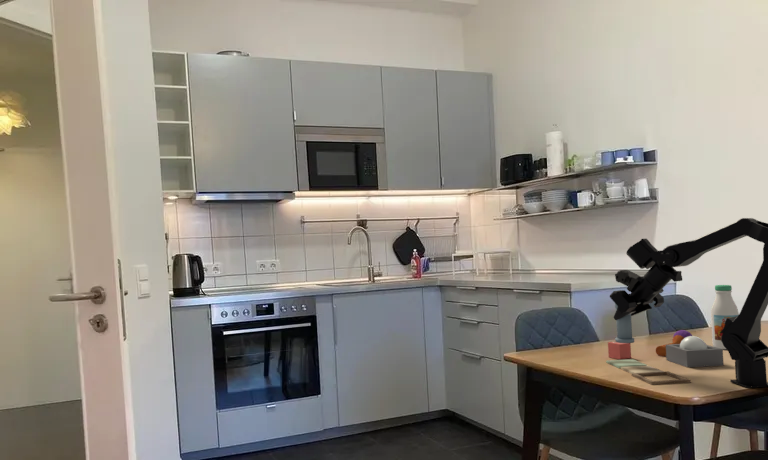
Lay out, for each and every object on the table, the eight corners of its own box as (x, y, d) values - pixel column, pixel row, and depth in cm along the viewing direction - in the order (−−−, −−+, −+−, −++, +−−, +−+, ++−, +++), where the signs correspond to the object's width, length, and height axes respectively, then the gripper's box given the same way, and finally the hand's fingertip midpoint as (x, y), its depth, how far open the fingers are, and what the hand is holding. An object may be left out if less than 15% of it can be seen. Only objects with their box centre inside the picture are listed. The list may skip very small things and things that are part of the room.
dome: (714, 362, 159) (712, 337, 160) (689, 363, 159) (688, 338, 159) (698, 357, 167) (697, 333, 167) (674, 358, 166) (673, 334, 166)
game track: (690, 382, 141) (690, 379, 141) (651, 384, 140) (651, 382, 140) (636, 361, 168) (636, 358, 168) (603, 362, 167) (602, 360, 167)
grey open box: (723, 365, 158) (722, 349, 158) (687, 367, 157) (686, 350, 157) (700, 358, 168) (699, 342, 168) (666, 360, 168) (665, 344, 168)
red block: (631, 357, 173) (630, 342, 173) (620, 359, 171) (619, 343, 171) (619, 355, 177) (618, 340, 177) (608, 357, 175) (607, 341, 175)
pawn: (634, 343, 160) (632, 298, 161) (615, 342, 162) (613, 298, 163) (634, 340, 165) (632, 297, 165) (615, 339, 167) (613, 297, 167)
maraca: (648, 342, 176) (675, 329, 190) (654, 361, 176) (680, 347, 189) (668, 340, 172) (693, 327, 185) (673, 360, 171) (698, 345, 185)
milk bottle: (707, 347, 184) (703, 285, 185) (724, 345, 187) (721, 283, 188) (729, 351, 177) (725, 286, 178) (746, 348, 180) (742, 285, 180)
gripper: (651, 258, 166) (618, 295, 175) (614, 261, 156) (581, 300, 164) (680, 286, 160) (644, 323, 168) (643, 291, 149) (607, 330, 158)
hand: (619, 318), depth 165 cm, fingers closed on pawn, 4 cm apart
